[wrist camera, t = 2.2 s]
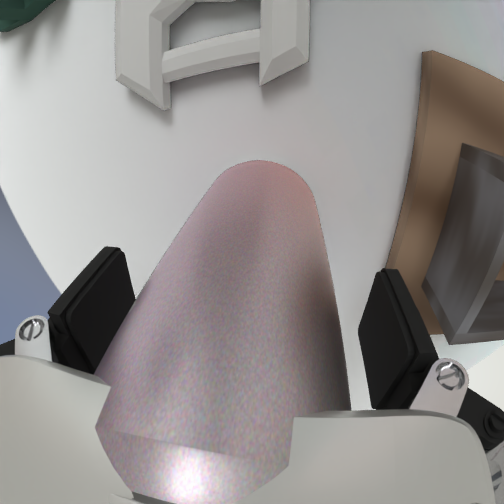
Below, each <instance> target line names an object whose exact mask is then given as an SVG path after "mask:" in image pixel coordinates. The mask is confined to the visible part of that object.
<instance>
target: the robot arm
mask: <svg viewBox="0 0 504 504" xmlns="http://www.w3.org/2000/svg"><path fill="white" fill-rule="evenodd" d="M135 300H136V299H135V295H134V291H133V288H132V284H131V279H130V275H129V271H128V267H127V262H126V258H125V254H124V252H122V251H121V249H120V248H118V247H108V246H107V247H104V248H103V249H102V250H101V251H100V252H99V253H98V254H97V255H96V257H95V258H94V259H93V260H92V261H91V262H90V263H89V264H88V265H87V266H86V267H85V269H84V270H83V271H82V272H81V273H80V274H79V275H78V276H77V278H76V279H75V280H74V281H73V282H72V283H71V284H70V286H69V287H68V288H67V289H66V290H65V291H64V293H63V294H62V295H61V296H60V297H59V299H58V300H57V301H56V302H55V303H54V305H53V306H52V307H51V309H50V310H49V311H48V314H49V316H50V318H49V319H48V321H47V320H46V318H45V317H43V316H31V317H29V318H27V319H25V320H24V321H23V322H22V323H21V324H20V325H19V326H18V328H17V330H16V334H15V339H13V340H11V341H8V342H6V343H3V344H1V345H0V504H110V502H109V495H110V494H114V495H117V496H119V497H122V498H126V499H132V498H134V497H133V494H132V492H131V490H130V489H129V488H128V487H127V486H126V485H125V484H124V482H123V481H122V479H121V477H120V476H119V475H118V473H117V472H116V470H115V469H114V468H113V466H112V464H111V462H110V460H109V458H108V457H107V455H106V453H105V451H104V449H103V447H102V445H101V442H100V440H99V437H98V435H97V432H96V429H95V425H96V423H97V420H98V417H99V415H100V412H101V410H102V408H103V405H104V403H105V400H106V398H107V395H108V393H109V391H110V388H111V386H109V385H108V384H107V383H105V382H104V381H103V380H102V379H100V378H99V377H98V376H95V375H94V373H95V371H96V369H97V367H98V366H99V364H100V362H101V360H102V358H103V356H104V354H105V353H106V351H107V349H108V347H109V345H110V344H111V342H112V340H113V338H114V336H115V335H116V333H117V331H118V329H119V328H120V326H121V324H122V322H123V321H124V319H125V317H126V316H127V314H128V312H129V310H130V309H131V307H132V305H133V304H134V302H135ZM358 336H359V341H360V346H361V351H362V356H363V361H364V366H365V371H366V377H367V383H368V388H369V394H370V401H371V406H372V408H373V409H376V410H360V411H323V412H318V413H313V414H308V415H302V416H297V417H294V420H293V431H292V441H291V450H290V458H289V466H288V467H287V468H286V469H284V470H283V471H282V472H281V473H280V474H279V475H277V476H276V477H275V478H274V479H272V480H271V481H270V482H268V483H267V484H265V485H264V486H262V487H261V488H259V489H258V490H256V491H254V492H253V493H251V494H250V495H248V496H246V497H244V498H242V499H240V500H238V501H236V502H234V503H232V504H504V412H503V411H502V410H501V409H500V408H498V407H497V406H495V405H494V404H492V403H491V402H489V401H487V400H486V399H485V398H483V397H481V396H480V395H479V394H477V393H476V392H474V391H472V390H471V389H469V388H468V384H469V378H468V374H467V372H466V370H465V368H464V367H463V366H462V365H461V364H460V363H458V362H457V361H455V360H452V359H448V358H443V359H439V358H438V355H437V352H436V350H435V347H434V345H433V343H432V340H431V338H430V335H429V333H428V331H427V328H426V326H425V324H424V321H423V319H422V317H421V315H420V312H419V310H418V308H417V307H416V305H415V303H414V301H413V299H412V296H411V294H410V292H409V290H408V288H407V286H406V284H405V282H404V280H403V278H402V276H401V274H400V272H399V270H398V269H388V268H383V269H382V270H381V272H377V273H376V275H375V279H374V282H373V285H372V288H371V292H370V295H369V298H368V301H367V304H366V307H365V310H364V313H363V316H362V319H361V322H360V324H359V328H358Z"/></svg>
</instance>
